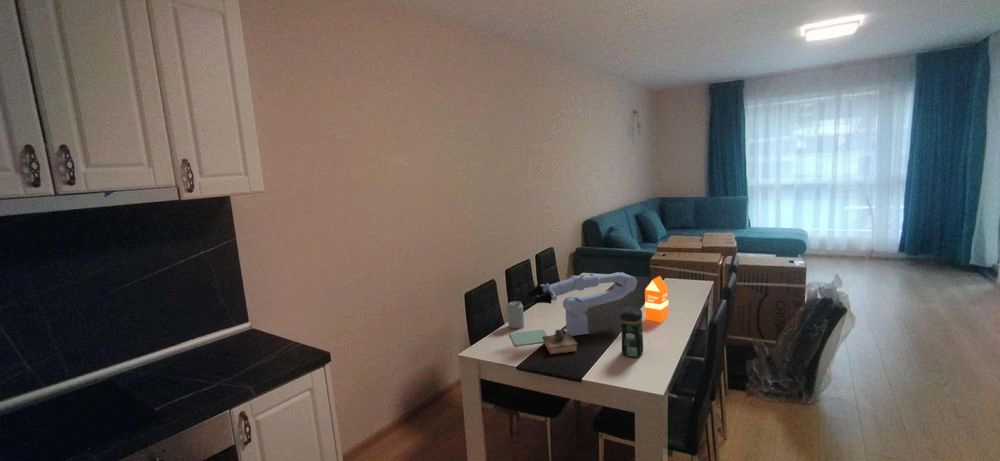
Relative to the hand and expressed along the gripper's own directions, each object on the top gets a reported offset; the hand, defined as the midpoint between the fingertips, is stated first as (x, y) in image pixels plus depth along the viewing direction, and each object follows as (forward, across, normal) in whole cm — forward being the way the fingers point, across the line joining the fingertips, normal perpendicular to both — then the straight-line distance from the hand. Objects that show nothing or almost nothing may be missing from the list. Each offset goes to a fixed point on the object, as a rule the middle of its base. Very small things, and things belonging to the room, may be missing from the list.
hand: (530, 297), depth 197 cm
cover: (-4, +14, +17) cm, 22 cm away
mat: (+4, -1, +19) cm, 20 cm away
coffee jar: (-28, +32, +21) cm, 47 cm away
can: (+5, -17, +21) cm, 27 cm away
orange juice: (-59, +4, +29) cm, 66 cm away
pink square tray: (-4, +14, +19) cm, 24 cm away
